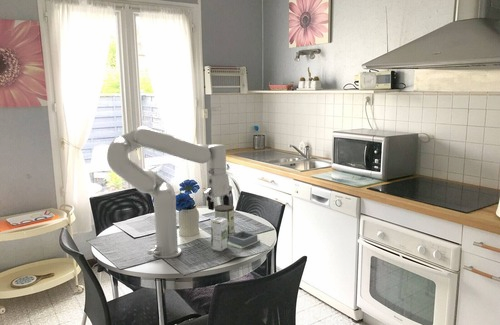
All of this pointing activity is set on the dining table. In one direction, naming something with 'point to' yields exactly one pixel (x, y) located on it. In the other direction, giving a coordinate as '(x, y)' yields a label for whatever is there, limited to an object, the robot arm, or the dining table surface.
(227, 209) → the coffee can
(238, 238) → the grey square tray
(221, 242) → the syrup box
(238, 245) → the board
